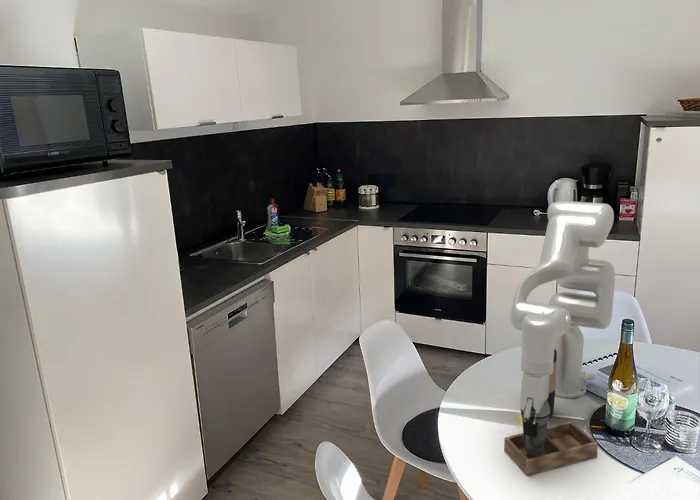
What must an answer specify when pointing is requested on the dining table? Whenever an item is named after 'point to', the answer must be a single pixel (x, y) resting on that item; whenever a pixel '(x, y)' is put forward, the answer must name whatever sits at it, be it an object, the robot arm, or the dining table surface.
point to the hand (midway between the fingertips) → (534, 427)
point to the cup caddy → (552, 449)
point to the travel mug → (552, 386)
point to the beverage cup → (532, 443)
